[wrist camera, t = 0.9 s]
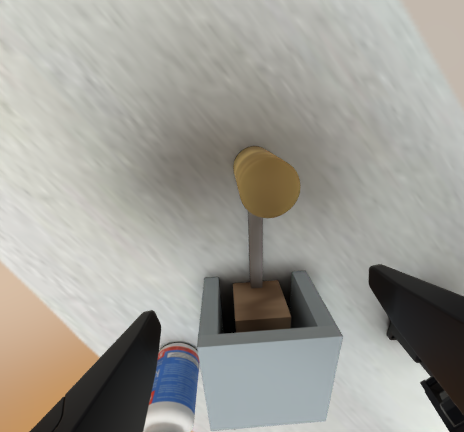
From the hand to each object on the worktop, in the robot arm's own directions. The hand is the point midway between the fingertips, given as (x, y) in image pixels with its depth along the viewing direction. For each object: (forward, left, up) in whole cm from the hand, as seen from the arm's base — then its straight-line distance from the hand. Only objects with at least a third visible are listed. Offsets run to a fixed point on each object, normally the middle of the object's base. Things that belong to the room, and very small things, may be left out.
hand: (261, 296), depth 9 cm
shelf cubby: (-1, +14, -12) cm, 18 cm away
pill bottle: (+9, +21, -13) cm, 26 cm away
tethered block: (-1, +5, -12) cm, 13 cm away
